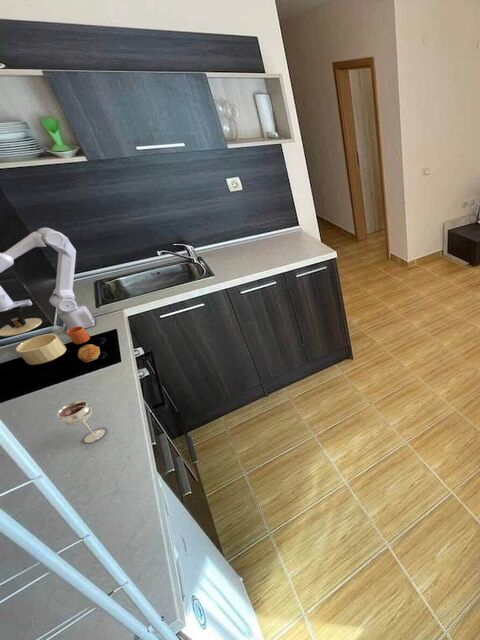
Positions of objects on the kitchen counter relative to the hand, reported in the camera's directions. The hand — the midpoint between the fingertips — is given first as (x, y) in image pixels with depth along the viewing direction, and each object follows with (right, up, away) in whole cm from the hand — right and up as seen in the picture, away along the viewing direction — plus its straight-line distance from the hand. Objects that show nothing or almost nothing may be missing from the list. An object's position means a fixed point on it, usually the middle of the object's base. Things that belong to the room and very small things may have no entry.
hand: (19, 325), depth 142 cm
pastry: (+32, -13, -2) cm, 34 cm away
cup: (+19, -7, +7) cm, 21 cm away
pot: (+13, -12, -1) cm, 18 cm away
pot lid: (0, -1, +1) cm, 1 cm away
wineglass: (+66, -34, -35) cm, 82 cm away
